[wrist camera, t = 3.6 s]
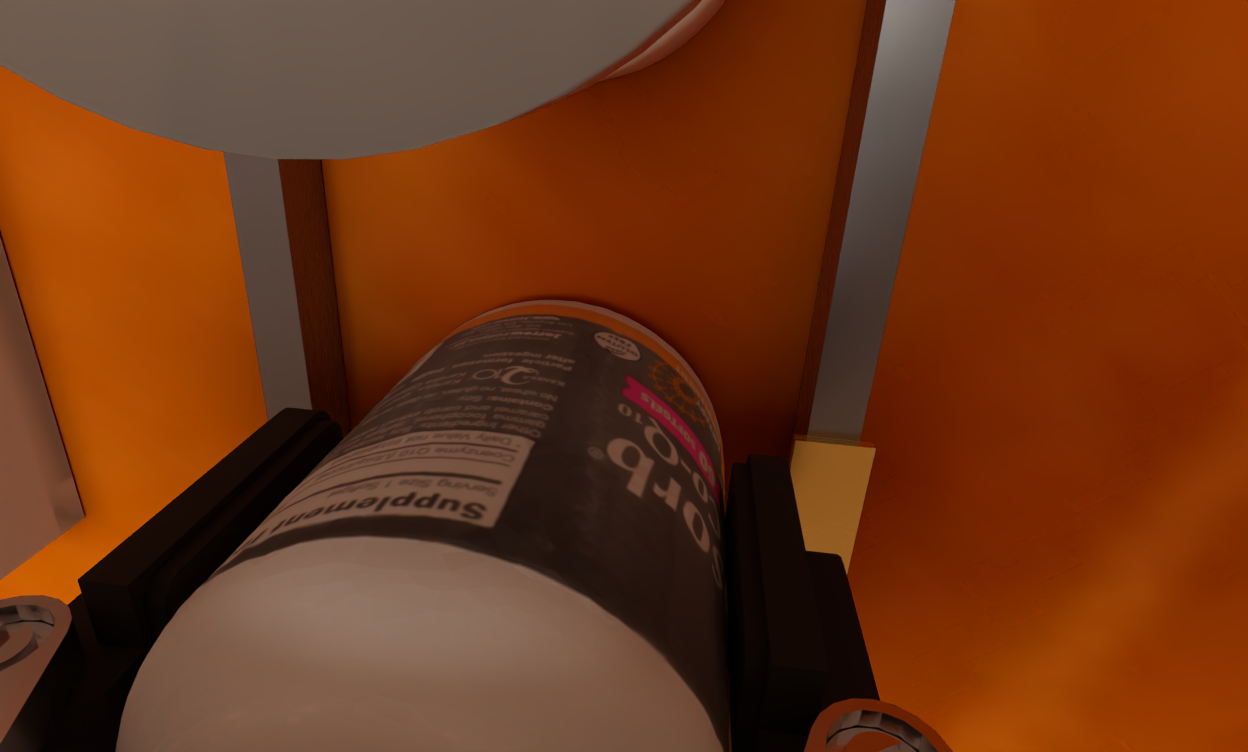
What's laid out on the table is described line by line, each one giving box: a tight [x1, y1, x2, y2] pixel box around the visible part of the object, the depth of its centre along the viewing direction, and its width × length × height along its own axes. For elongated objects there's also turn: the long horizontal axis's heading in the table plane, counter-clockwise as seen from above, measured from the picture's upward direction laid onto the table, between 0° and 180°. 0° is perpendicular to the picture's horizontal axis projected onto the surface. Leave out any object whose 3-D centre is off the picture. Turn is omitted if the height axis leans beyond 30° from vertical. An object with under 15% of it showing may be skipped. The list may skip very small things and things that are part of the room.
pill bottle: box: [116, 300, 732, 752], centre depth 9 cm, size 6×6×10 cm
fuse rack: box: [224, 0, 956, 574], centre depth 12 cm, size 10×25×1 cm, turn 177°
